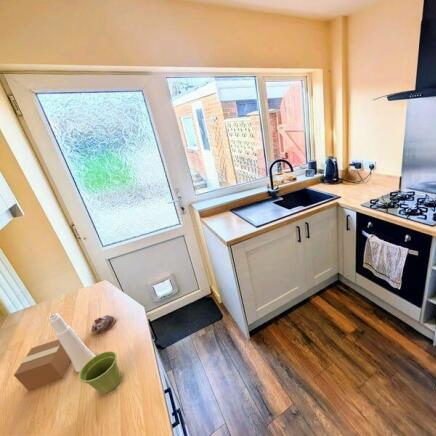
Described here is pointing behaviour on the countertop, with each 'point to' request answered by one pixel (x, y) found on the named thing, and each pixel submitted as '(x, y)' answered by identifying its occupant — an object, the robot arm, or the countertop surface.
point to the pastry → (102, 324)
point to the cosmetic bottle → (71, 342)
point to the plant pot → (101, 372)
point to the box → (43, 365)
